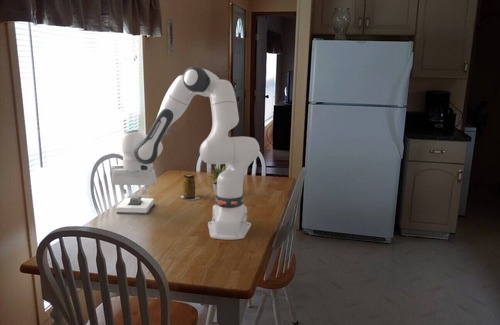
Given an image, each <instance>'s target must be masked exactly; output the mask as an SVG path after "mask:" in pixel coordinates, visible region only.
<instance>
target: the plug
mask: <svg viewBox="0 0 500 325" xmlns="http://www.w3.org/2000/svg"><path fill="white" fill-rule="evenodd" d="M130 198H131V199H130V205H141V198H142V197H141V195H132V197H130Z"/></svg>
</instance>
